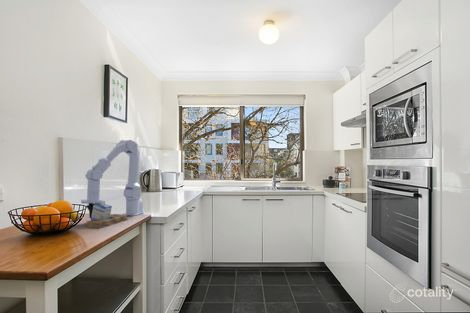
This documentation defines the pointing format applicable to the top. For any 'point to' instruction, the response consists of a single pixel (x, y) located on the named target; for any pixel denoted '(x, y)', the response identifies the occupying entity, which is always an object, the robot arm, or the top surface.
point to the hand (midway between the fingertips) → (92, 218)
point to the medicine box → (101, 212)
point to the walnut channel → (106, 221)
